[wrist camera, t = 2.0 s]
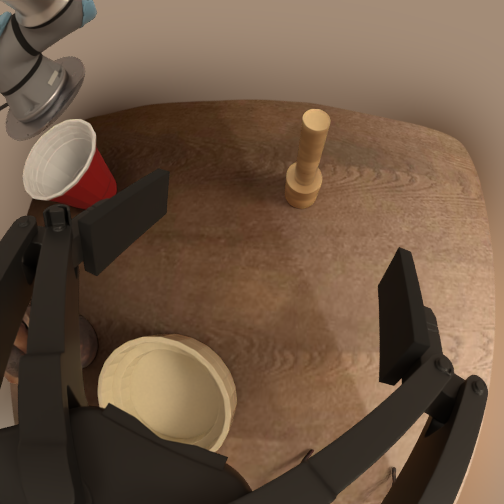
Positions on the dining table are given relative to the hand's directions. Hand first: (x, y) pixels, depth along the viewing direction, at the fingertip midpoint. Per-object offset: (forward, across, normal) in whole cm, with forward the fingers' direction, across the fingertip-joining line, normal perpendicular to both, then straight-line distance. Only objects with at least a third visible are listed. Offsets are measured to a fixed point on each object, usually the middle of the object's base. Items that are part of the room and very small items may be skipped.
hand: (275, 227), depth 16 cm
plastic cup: (+16, -27, -12) cm, 34 cm away
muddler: (+22, 0, -7) cm, 23 cm away
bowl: (+2, -6, -27) cm, 28 cm away
